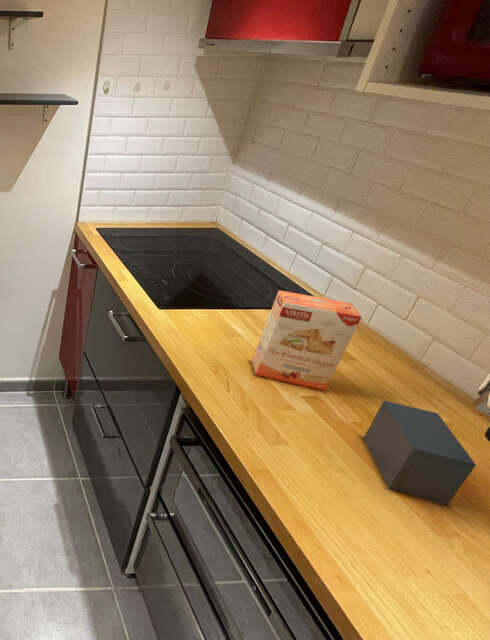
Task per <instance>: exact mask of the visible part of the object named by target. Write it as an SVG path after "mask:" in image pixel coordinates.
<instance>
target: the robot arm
mask: <svg viewBox="0 0 490 640" xmlns="http://www.w3.org/2000/svg"><path fill="white" fill-rule="evenodd" d="M476 395H477V396H478V397H477V398H476V399H475V400H473V401H472V402H471V405H472V406H473V407H474V409H475V410H476V411H478V412H481V413H483V414H485V415H488V416H490V373H488V375H487V376H486V377H485V378H484V380H482V383H481V384H480V386H479V388H478V390H477V392H476ZM484 437H485V439H486V440H487V441H488V442H489V443H490V426H488V428H487V429H486V431H485V433H484Z"/></svg>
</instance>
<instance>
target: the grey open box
mask: <svg viewBox="0 0 490 640" xmlns="http://www.w3.org/2000/svg"><path fill="white" fill-rule="evenodd" d="M363 440H364V443H365V445H366V446H367V449H368V450H369V452H370V454H371V456H372V459H373V460H374V462H375V464H376V466H377V468H378V470H379V473H380V474H381V476H382V478H383V480H384V482H385V484H386V486H387V488H388V489H389V490H393V491H396V492H399V493H402V494H407V495H410V496H413V497H417V498H420V499H424V500H427V501H431V502H434V503H437V504H441V505H444V506H448V505H449V503H450V502H451V501H452V499H454V497H455V495H456V494H457V493H458V491H459V490H460V489H461V487H462V485H463V484H464V483H465V482H466V480H467V478H468V477H469V476H470V474H471V473H472V472H473V470H474V468H475V467H476V466H477V465H476V463H475V462H474V460H473V458H472V457H471V456H470V455H469V454H468V452H467V451H466V450H465V448H464V447H463V445H462V444H461V443H460V441H459V439H457V437H456V436H455V434H453V432H452V430H451V429H450V428H449V426H448V425H447V423H446V422H445V421H444V420H443V418H442V417H441V415H440V414H439V413H438V412H434V411H430V410H426V409H422V408H418V407H413V406H409V405H405V404H402V403H401V404H400V403H396V402H392V401H388V400H385V399H384V400H383V401H382V403H381V405H380V407H379V409H378V410H377V411H376V414H375V416H374V417H373V420H372V422H371V423H370V425H369V426H368V429H367V430H366V432H365V434H364V435H363Z"/></svg>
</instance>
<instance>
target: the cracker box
mask: <svg viewBox="0 0 490 640" xmlns="http://www.w3.org/2000/svg"><path fill="white" fill-rule="evenodd" d="M361 320H362V315H361V314H360V313H359V311H358V310H357V309H356V308H355V306H354V305H353V303H352V302H347V301H341V300H335V299H329V298H324V297H319V296H313V295H308V294H303V293H297V292H291V291H285V290H278V292H277V294H276V297H275V299H274V301H273V303H272V307H271V309H270V311H269V315H268V317H267V321H266V323H265V325H264V327H263V330H262V333H261V336H260V338H259V341H258V343H257V346H256V349H255V351H254V354H253V356H252V359H251V364H252V366H253V369H254V373H255V376H258V377H259V376H260V377H264V378H268V379H273V380H276V381H281V382H284V383H289V384H293V385H297V386H302V387H306V388H310V389H315V390H317V391H318V390H319V391H322V392H325V391H326V390H327V388H328V387H329V384H330V382H331V380H332V378H333V377H334V374H335V371H336V369H337V367H338V366H339V363H340V362H341V360H342V358H343V356H344V354H345V351H346V350H347V348H348V345H349V344H350V341H351V340H352V338H353V335H354V333H355V331H356V329H357V327H358V325H359V323H360V321H361Z"/></svg>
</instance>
